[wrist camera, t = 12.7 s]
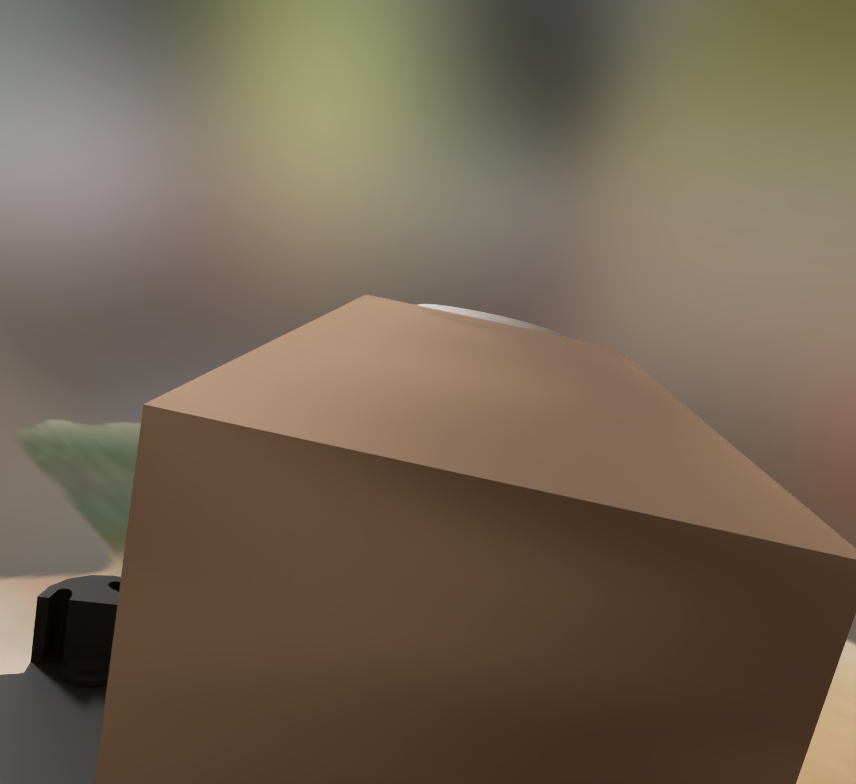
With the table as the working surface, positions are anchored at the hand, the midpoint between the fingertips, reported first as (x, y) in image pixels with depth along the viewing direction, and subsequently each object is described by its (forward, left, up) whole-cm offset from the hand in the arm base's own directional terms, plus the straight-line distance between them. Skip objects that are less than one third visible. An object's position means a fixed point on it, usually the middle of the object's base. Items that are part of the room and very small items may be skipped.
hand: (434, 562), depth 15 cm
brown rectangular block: (0, -5, -7) cm, 9 cm away
